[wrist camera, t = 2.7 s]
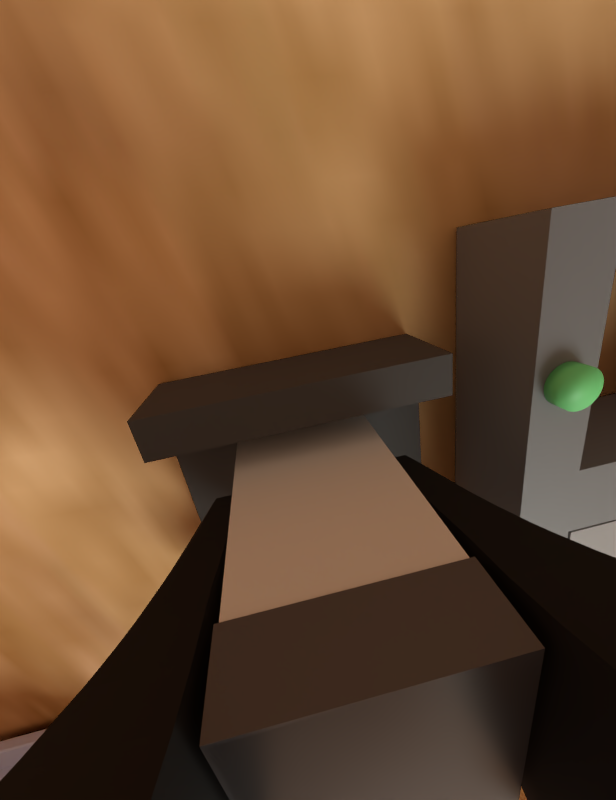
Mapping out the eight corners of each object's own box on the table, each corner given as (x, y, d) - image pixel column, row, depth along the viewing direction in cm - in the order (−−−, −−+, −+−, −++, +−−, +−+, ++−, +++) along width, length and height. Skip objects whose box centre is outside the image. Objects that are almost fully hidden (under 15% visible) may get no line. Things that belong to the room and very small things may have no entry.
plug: (263, 533, 11) (275, 880, 5) (235, 435, 9) (199, 747, 3) (372, 507, 11) (518, 802, 5) (361, 408, 9) (545, 647, 3)
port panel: (454, 596, 14) (511, 690, 11) (456, 227, 9) (572, 203, 5) (626, 550, 15) (728, 627, 11) (729, 178, 9) (972, 132, 6)
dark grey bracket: (226, 569, 12) (219, 639, 9) (158, 384, 9) (127, 421, 7) (416, 522, 12) (452, 578, 10) (406, 333, 9) (452, 353, 7)
